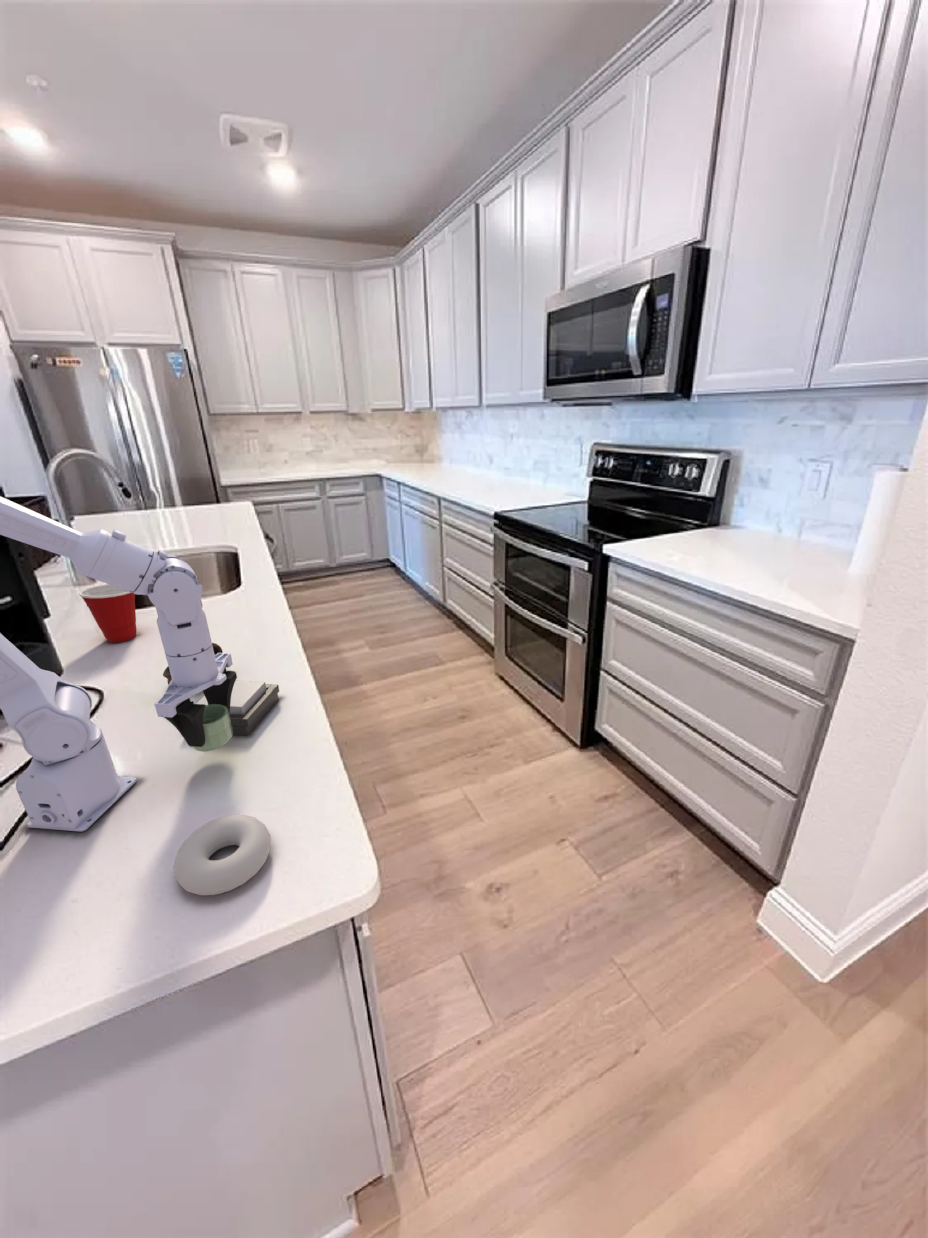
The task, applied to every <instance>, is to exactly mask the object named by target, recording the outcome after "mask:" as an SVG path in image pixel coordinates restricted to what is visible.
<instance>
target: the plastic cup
mask: <svg viewBox="0 0 928 1238" xmlns="http://www.w3.org/2000/svg"><path fill="white" fill-rule="evenodd" d="M78 596H79V597H81V598H82V600H83V601H84V603H85V604H86V605H85V606H86V607H87V608H88V609H89V611H90V613H91V615H92V617H93V619H94V620H95V623H96V624H97V626H98V628H99V630H100V631H101V632H102V634H103V636H104V638H105V640H106V641H107V642H109V643H113V644H116V643H123V642H127V641H130V640H133V639H134V638H136V637H137V616H136V615H137V614H136V601H135V600H136V594H134V593H131V592H129V591H126V590H123V589H120V588H118V587H115V586H112V585H110V584H107V583H106V584H101V585H95V586H91V587H90V586H89V587H87V588H83V589H82V590H80V591H79V592H78Z"/></svg>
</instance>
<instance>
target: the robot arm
mask: <svg viewBox="0 0 928 1238" xmlns="http://www.w3.org/2000/svg"><path fill="white" fill-rule="evenodd" d="M0 536H3V537H6V538H9V539H11V540H15V541H17V542H20V543H24V544H27V545H30V546H32V547H35V548H39V549H41V550H44V551H48V552H49V553H54V554H56V555H59V556H61V557H65V558H68V559H69V560H70V561H71V562H72V564H73V566H74V568H75V570H76V572H77V573H78V574H80V575H82V576H85V577H88V578H90V579H93V580H96V581H99V582H101V583H104V584H106V585H107V584H110V585H112V586H115V587H118V588H120V589H123V590H126V591H129V592H131V593H134V594H135V595H138V596H139V595H142V596H147V597H148V599H149V601H150V602H151V604H152V605H153V606H154V607H155V611H156V614H157V618H156V624H157V628H158V633H159V635H160V639H161V643H162V647H163V651H164V654H165V655H164V656H165V658H166V662H167V667H168V666H169V670H170V674H171V677H172V680H171V682H170V684H169V685H168V684H167V687H166V688H165V690H164V692H163V694H162V695H161V697H160V698H159V699H158V700H157V701H156V702H155V703H154V708H155V711H156V714H157V717H158V718H164V719H166V720H167V721H168V722H169V723H170V724H172V726H173V727H174V728H175V729H176V730H177V731H178V732H179V734H180V736H182V738H183V739H184V741H185V743H186V744H187V745H188V747H190V746H194V747H202V746H203V745H204V744H205V734H204V728H203V714H204V709H205V706H206V705H205V704H196V703H194V701H193V700H192V701H191V697H194V696H196V695H198V694H199V693H202V694H203V695H204V696H205V697H206V700H207V702H208V705H209V704H221V705H224V706H226V707H227V709H228V712H229V715H230V702H231V694H232V690H233V686H234V683H235V681H237V679H238V675H237V671H234V670H227V668H231V667H232V666H233V659H232V654H231V652H223V653H218V654H216V655H214V650H213V646H212V643H213V642H212V641H213V640H212V637H211V632H210V628H209V623H208V619H207V615H206V612H205V610H203V601H202V599H201V598H202V596H203V585H202V584H201V583H200V580H199V579H198V577H197V575H196V573H195V571H194V569H193V568H192V567H191V566H190V564H189V563H187V562H186V561H184V560H182V559H181V558H179V557H178V556H177V555H168V553H167V552H166V551H163V550H161V549H159V550H158V551H155V550H154V551H153V550H152V549H149V548H147V547H145V546H143V545H140V544H138V543H135V542H133V541H131V540H128V539H126V538H127V534H126V533H124V532H122V531H121V530H118V529H113V530H112V532H109V531H107V530H104V529H96V530H92V531H88V532H82V531H79V530H78V529H77V530H76V529H75V528H72V527H70V526H67V525H66V524H63V523H61V522H59V521H56V520H54V519H52V518H50V517H47V516H46V515H43V514H41V513H39V512H37V511H34V510H32V509H31V508H28V507H25V506H24V505H22V504H19V503H16V502H14V501H11V500H10V499H8V498H5V497H3V496H1V495H0ZM92 707H93V700H92V696H91V694H90V693H89V691H87V690H86V689H85V688H84V687H82V685H81V686H80V685H79V684H75V683H72V682H69V681H66V680H65V679H63V678H61V677H60V676H59V675H58V674H56V672H53V671H50V670H45V669H42V668H40V667H39V666H38V665H36V663H34V662H33V661H32V660H31V659H30V658H29V657H27V655H25V654H24V652H22V651H21V650H20V649H19V648H17V647H16V646H15V645H14V644H13V643H12V642H11V641H9V639H7V638H6V637H5V636H4V635H3V634H2V633H1V632H0V710H1V712H2V715H3V717H4V719H5V721H6V724H7V725H8V727H9V728H11V730H13V731H14V732H15V733H16V734H18V736H19V738H20V740H21V743H22V747H23V749H24V751H25V752H26V753H27V754H28V755H30V757H32V758H31V762H30V764H29V765H28V767H27V768H26V769H25V770H24V771H23V773H21V775H20V776H19V777H18V778H17V780H16V781H15V789H16V792H17V794H18V797H19V799H20V801H21V803H22V806H23V808H24V810H25V813H26V814H27V816H28V819H29V821H28V822H27V823H26V826H27V827H28V828H33V829H43V830H56V831H69V832H70V831H71V832H85V831H87V830H88V829H89V828H90V827H91V826H92V825H93V824H94V823H95V822H96V821H97V820H98V819H99V818H100V817H101V816H103V814H104V813H106V812H107V810H108V809H109V808H110V807H112V806H113V804H115V803H116V802H117V801H118V800H119V799H120V798H121V797H122V796H124V794H125V793H126V792H127V791H128V790H129V789H130V788H131V787H132V786H133V785H134V784H135V783H136V782H137V781H138V780H137V778H136V777H134V776H120V775H119V776H118V773H117V770H116V767H115V764H114V761H113V758H112V756H111V753H110V750H109V748H108V744H107V742H106V738H105V735H104V733H103V731H102V730H103V729H102V728H101V727H100V726H99V725H97V724H96V723H94V722H93V721H92V720H91V710H92Z"/></svg>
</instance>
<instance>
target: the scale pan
mask: <svg viewBox="0 0 928 1238" xmlns="http://www.w3.org/2000/svg"><path fill="white" fill-rule="evenodd" d="M266 684H267V683H266V681H253V680H252V681H250V680H236V681H235V683H234V686H233V690H232V694H231V702H230V714H232V715H244V714H245V713H246V712H247V711H248V710H249V709H250V708H251V707H252V706H253V704H254V703H255V702H256V701H257V700H258V699H259V698H260V697H261V696H262V695H263V693H264V692H265V691H266V690H267V689H266ZM195 704H205V705H208V702H207V700H206V697H205V695H204V696H203V697H201V699H199V700H198V701H197V702H196V703H195Z"/></svg>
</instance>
